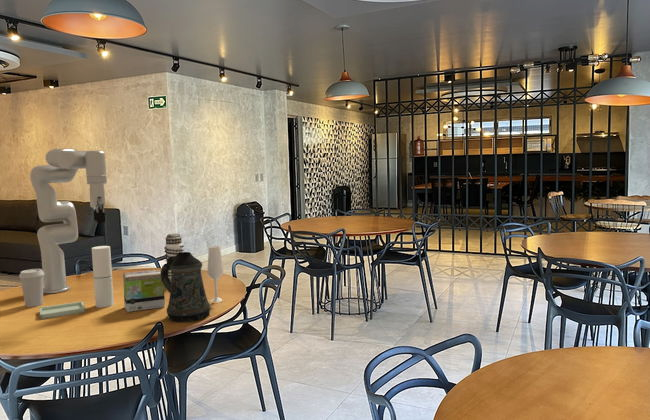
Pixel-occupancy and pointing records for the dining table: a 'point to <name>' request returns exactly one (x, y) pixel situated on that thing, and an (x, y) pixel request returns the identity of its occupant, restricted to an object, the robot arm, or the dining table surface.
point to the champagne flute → (215, 267)
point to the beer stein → (185, 288)
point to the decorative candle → (173, 247)
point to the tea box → (143, 290)
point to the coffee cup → (32, 287)
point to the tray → (62, 310)
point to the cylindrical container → (102, 276)
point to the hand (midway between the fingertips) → (99, 221)
